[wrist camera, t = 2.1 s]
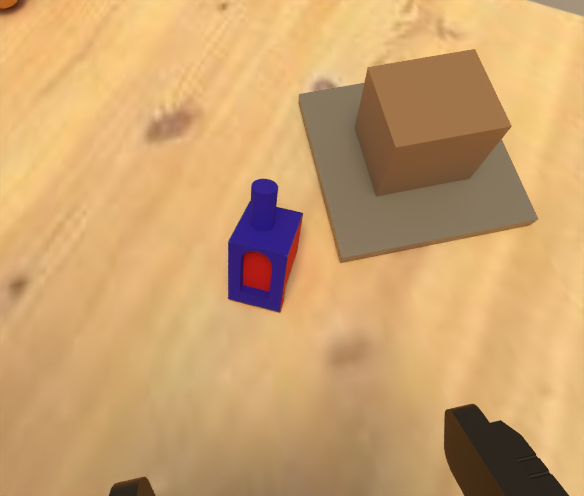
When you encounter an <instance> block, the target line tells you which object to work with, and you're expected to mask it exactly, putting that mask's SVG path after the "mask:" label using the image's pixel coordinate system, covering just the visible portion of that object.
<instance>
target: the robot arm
mask: <svg viewBox="0 0 584 496" xmlns="http://www.w3.org/2000/svg"><path fill="white" fill-rule="evenodd" d="M444 450H445V455H446V459H447V462H448V465H449V467H450V470H451V472H452V474H453V476H454V477H455V479H456V481H457V483H458V485H459V487H460V488H461V490H462V492H463V494H464V496H569V495H568V494H567V492H566V491H565V490H564V489H563V487H562V486H561V485H560V484H559V482H558V481H557V480H556V478H555V477H554V476H553V475H552V474H550V473H549V470H548V468H547V467H546V466H545V465H544V463H543V462H542V461H541V459H540V458H538V457H537V456H536V453H535V452H534V451H533V449H532V448H531V447H530V446H529V444H528V443H527V442H526V441H525V439H524V438H523V437H522V435H520V434H519V433H518V432H516V431H515V430H513V429H512V428H511V427H509V426H508V425H506V424H505V423H504V422H502V421H501V420H500V421H496V422H492V423H489V421H488V420H487V418H486V417H485V416H484V414H483V413H482V412H481V410H480V409H479V408H478V407H477V406H476V405H475V404H469V405H465V406H460V407H456V408H451V409H447V410H446V411H445V425H444ZM109 496H155V494H154V491H153V489H152V487H151V485H150V483H149V481H148V479H147V478H146V477H141V478H136V479H132V480H128V481H123V482H119V483H115V484H114V485H113V487H112V488H111V491H110V494H109Z"/></svg>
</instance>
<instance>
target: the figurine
mask: <svg viewBox="0 0 584 496" xmlns="http://www.w3.org/2000/svg"><path fill="white" fill-rule="evenodd" d="M17 1H18V0H0V8H9V7H11V6H13V5H14V4H16V3H17Z"/></svg>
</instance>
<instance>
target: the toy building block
mask: <svg viewBox="0 0 584 496" xmlns="http://www.w3.org/2000/svg"><path fill="white" fill-rule="evenodd" d="M277 193H278V185H277V184H276V183H275V182H274V181H272V180H269V179H258V180H256V181H254V182H253V183H252V186H251V201H250V202H249V204H248V206H247V208H246V210H245V212H244V213H243V215H242V217H241V219H240V221H239V223H238V225H237V226H236V228H235V230H234V232H233V234H232V236H231V238H230V239H229V241H228V299H230V300H234V301H238V302H242V303H246V304H250V305H254V306H257V307H261V308H265V309H269V310H273V311H277V312H280V311H281V308H282V305H283V300H284V293H285V286H286V283H287V280H288V277H289V274H290V271H291V268H292V265H293V262H294V259H295V256H296V253H297V248H298V242H299V236H300V229H301V223H302V217H303V213H301V212H296V211H292V210H288V209H283V208H279V207H276V203H277Z"/></svg>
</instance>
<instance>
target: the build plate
mask: <svg viewBox="0 0 584 496" xmlns="http://www.w3.org/2000/svg"><path fill="white" fill-rule="evenodd" d="M299 105H300V109H301V113H302V117H303V121H304V125H305V128H306V132H307V136H308V140H309V144H310V148H311V151H312V155H313V159H314V163H315V167H316V171H317V174H318V178H319V182H320V186H321V190H322V194H323V197H324V201H325V205H326V209H327V213H328V217H329V221H330V224H331V228H332V232H333V236H334V240H335V244H336V247H337V251H338V255H339V259H340V263H342V262H347V261H352V260H357V259H362V258H367V257H372V256H377V255H382V254H387V253H392V252H397V251H402V250H407V249H412V248H417V247H422V246H427V245H432V244H437V243H442V242H447V241H452V240H457V239H462V238H467V237H472V236H477V235H482V234H487V233H492V232H497V231H502V230H507V229H512V228H517V227H522V226H527V225H531V224H532V223H534V222H535V221H536V220H538V217H537V215H536V213H535V211H534V209H533V207H532V204H531V202H530V200H529V198H528V196H527V194H526V191H525V189H524V187H523V185H522V183H521V181H520V178H519V176H518V174H517V172H516V170H515V167H514V165H513V163H512V161H511V159H510V157H509V154H508V152H507V150H506V148H505V146H504V144H503V141H502V138H503V136H504V135H505V134H506V133H507V131H508V130H509V129H510V128H511V124H510V122H509V120H508V118H507V116H506V114H505V111H504V109H503V107H502V105H501V103H500V101H499V99H498V97H497V95H496V93H495V90H494V88H493V86H492V84H491V82H490V80H489V78H488V76H487V74H486V72H485V69H484V67H483V65H482V63H481V61H480V59H479V57H478V55H477V53H476V51H475V49H473V50H467V51H461V52H455V53H449V54H443V55H438V56H432V57H426V58H420V59H414V60H408V61H402V62H396V63H390V64H385V65H379V66H373V67H368V69H367V74H366V78H365V83H361V84H356V85H350V86H344V87H338V88H332V89H326V90H321V91H315V92H309V93H303V94H299Z"/></svg>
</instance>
